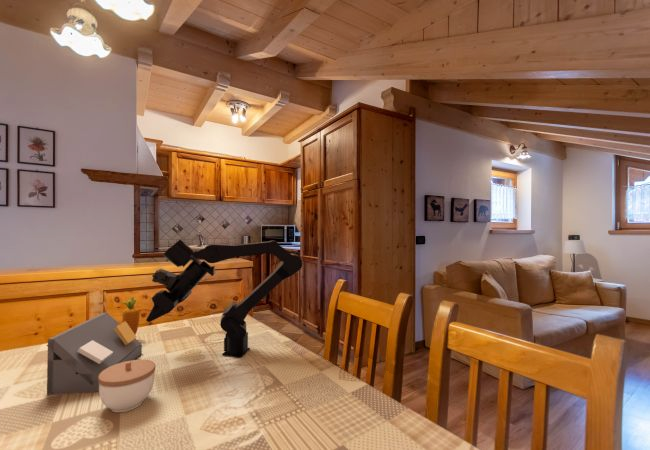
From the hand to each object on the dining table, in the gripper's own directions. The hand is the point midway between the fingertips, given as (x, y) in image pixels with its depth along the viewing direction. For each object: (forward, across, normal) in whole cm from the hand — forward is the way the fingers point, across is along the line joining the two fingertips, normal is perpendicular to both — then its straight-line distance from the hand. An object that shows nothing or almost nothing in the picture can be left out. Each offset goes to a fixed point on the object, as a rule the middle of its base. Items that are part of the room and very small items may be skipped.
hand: (153, 316), depth 90 cm
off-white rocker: (+11, +13, -1) cm, 17 cm away
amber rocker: (+11, -1, -2) cm, 11 cm away
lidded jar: (+7, +24, +11) cm, 27 cm away
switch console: (+16, +6, 0) cm, 18 cm away
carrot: (+18, -16, -1) cm, 24 cm away
